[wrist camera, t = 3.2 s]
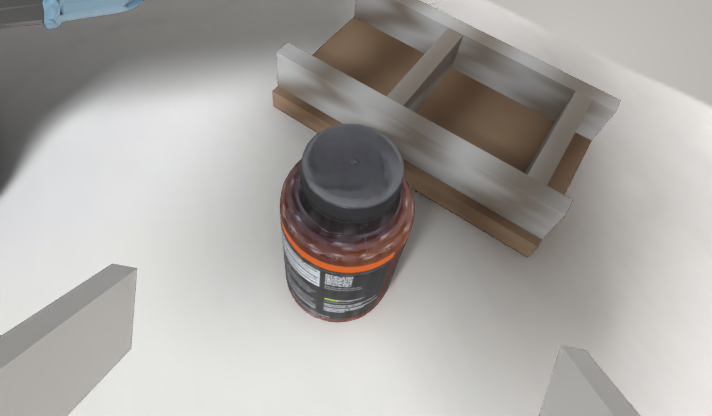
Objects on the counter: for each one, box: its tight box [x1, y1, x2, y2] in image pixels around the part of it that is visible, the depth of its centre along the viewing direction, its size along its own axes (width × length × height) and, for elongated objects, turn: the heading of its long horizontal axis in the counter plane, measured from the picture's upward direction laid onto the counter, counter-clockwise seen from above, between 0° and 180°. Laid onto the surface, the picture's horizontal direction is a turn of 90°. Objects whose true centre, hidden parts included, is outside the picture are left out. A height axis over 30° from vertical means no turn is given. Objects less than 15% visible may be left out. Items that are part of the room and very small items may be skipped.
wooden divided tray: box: [273, 0, 621, 257], centre depth 33 cm, size 20×12×4 cm, turn 57°
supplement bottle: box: [280, 124, 415, 322], centre depth 23 cm, size 6×6×11 cm
